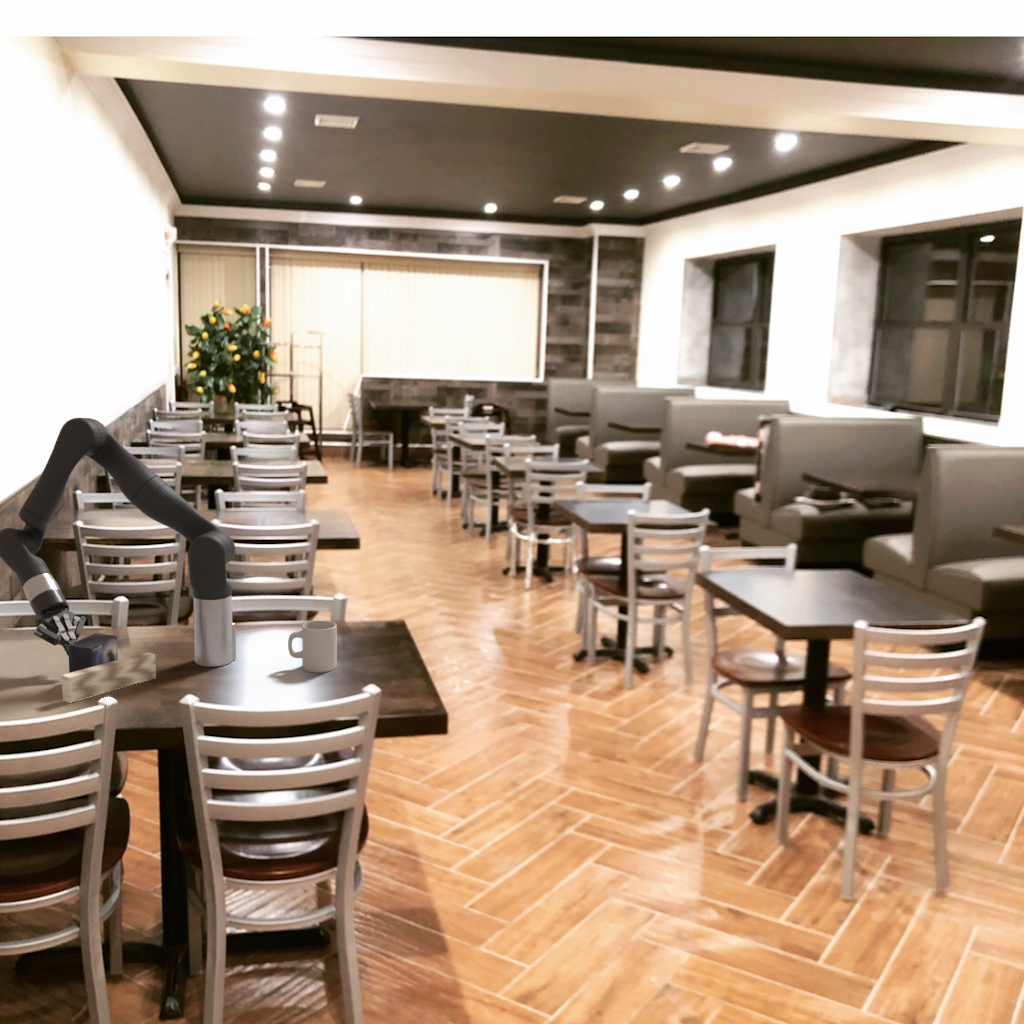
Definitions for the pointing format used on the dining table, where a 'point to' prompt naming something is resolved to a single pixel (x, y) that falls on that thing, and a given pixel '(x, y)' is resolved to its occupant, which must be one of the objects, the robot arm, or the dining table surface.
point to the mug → (316, 646)
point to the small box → (92, 651)
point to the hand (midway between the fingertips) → (75, 655)
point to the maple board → (108, 676)
